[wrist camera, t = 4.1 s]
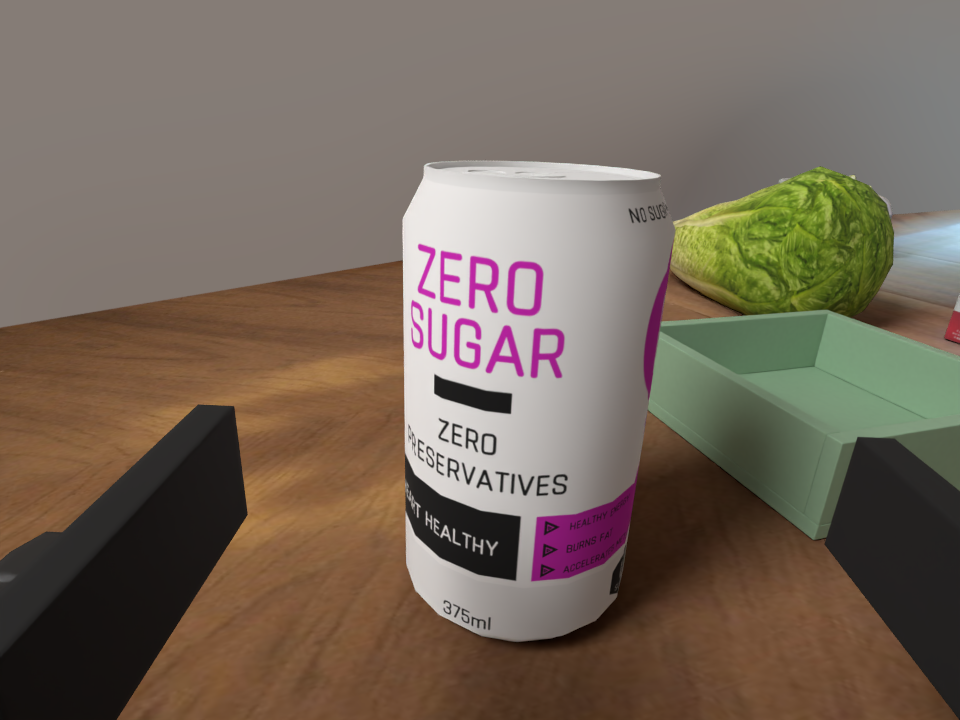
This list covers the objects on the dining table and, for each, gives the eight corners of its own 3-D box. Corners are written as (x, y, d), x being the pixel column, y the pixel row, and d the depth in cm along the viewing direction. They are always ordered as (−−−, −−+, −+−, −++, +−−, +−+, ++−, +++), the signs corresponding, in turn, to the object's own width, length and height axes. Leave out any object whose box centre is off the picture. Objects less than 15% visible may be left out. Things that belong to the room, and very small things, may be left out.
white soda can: (598, 510, 27) (642, 165, 22) (641, 662, 20) (727, 188, 14) (419, 504, 27) (419, 156, 22) (393, 653, 20) (383, 175, 14)
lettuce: (614, 302, 70) (715, 305, 75) (780, 337, 48) (908, 338, 53) (627, 176, 67) (731, 188, 72) (810, 151, 45) (942, 170, 50)
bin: (1053, 488, 31) (1093, 402, 29) (813, 541, 26) (842, 443, 24) (810, 371, 44) (826, 309, 43) (624, 392, 40) (634, 323, 38)
